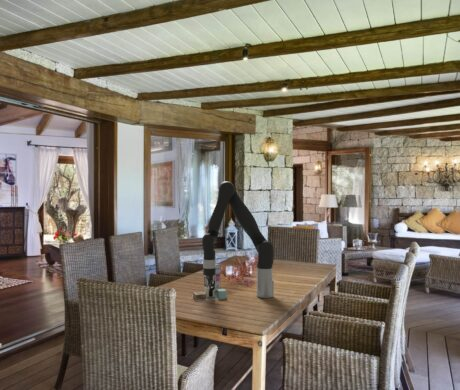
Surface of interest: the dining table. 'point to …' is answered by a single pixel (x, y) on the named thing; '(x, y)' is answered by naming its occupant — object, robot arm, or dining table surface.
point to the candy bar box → (217, 277)
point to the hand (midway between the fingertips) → (209, 295)
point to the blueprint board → (209, 298)
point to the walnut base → (199, 295)
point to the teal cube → (221, 293)
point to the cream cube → (206, 291)
